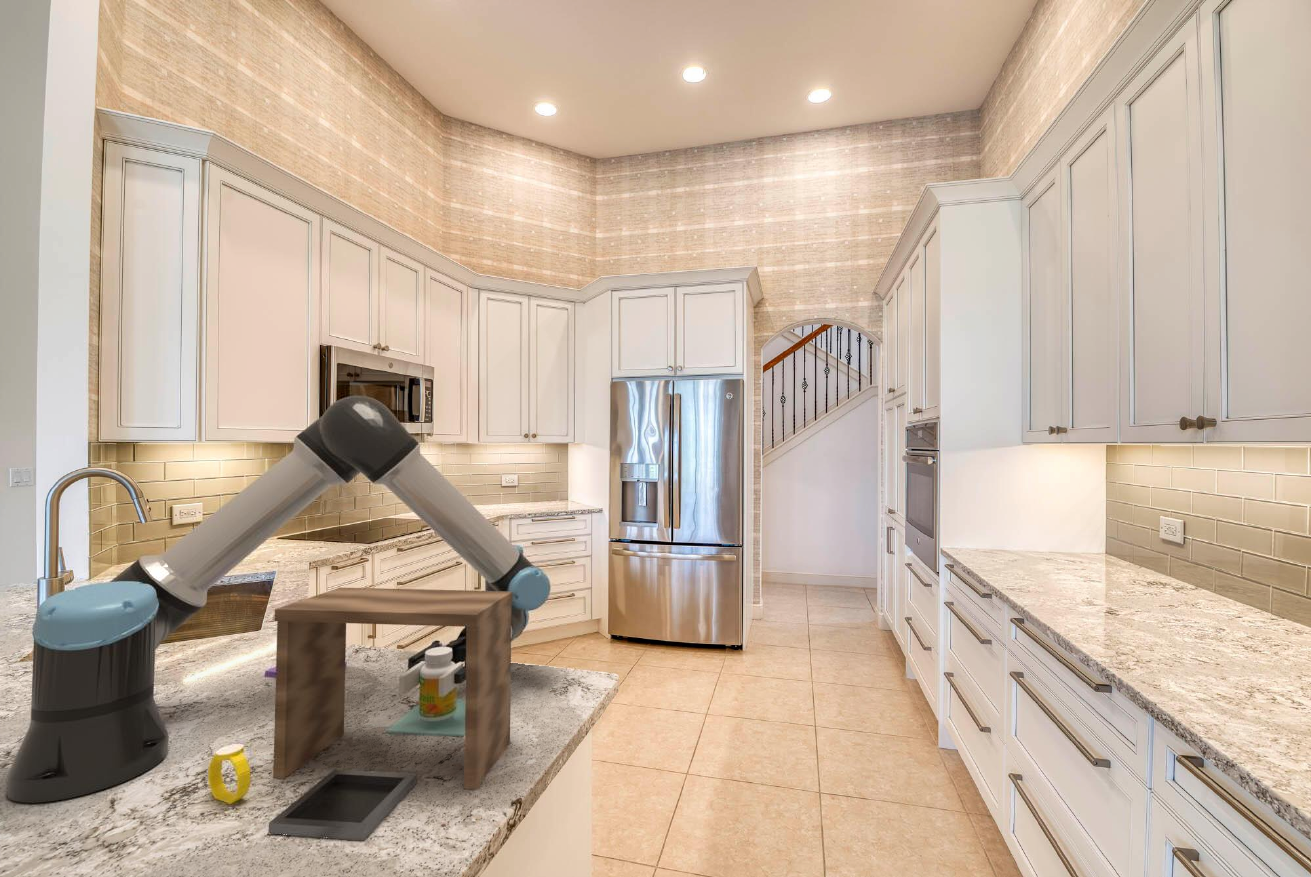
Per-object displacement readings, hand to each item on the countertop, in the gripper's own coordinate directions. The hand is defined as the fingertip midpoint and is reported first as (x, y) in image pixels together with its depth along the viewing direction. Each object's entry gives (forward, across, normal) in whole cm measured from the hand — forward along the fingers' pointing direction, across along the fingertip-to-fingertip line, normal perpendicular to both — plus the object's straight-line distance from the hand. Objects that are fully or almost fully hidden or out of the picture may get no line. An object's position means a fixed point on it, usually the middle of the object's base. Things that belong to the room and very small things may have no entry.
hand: (421, 686), depth 84 cm
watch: (+16, +16, -8) cm, 24 cm away
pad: (-8, 0, -8) cm, 11 cm away
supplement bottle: (-5, 0, -6) cm, 8 cm away
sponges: (-24, +36, -8) cm, 44 cm away
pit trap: (+16, 0, -8) cm, 18 cm away
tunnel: (+5, 0, -8) cm, 9 cm away
